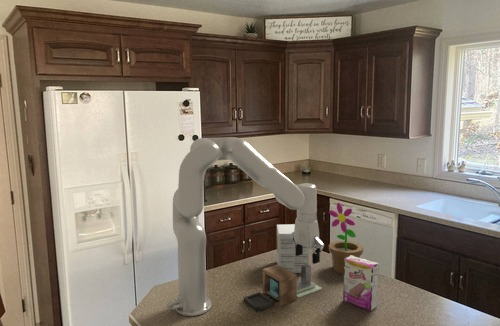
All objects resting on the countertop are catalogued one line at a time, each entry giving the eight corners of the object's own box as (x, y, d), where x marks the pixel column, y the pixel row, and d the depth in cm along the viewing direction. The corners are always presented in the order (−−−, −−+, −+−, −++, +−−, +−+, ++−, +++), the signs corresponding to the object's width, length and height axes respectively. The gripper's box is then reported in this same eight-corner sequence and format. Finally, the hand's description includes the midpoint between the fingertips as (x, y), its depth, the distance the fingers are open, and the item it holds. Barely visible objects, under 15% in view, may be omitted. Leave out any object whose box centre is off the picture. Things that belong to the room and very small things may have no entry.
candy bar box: (342, 301, 145) (343, 258, 142) (349, 296, 148) (350, 254, 146) (371, 312, 137) (372, 266, 135) (377, 306, 141) (379, 262, 138)
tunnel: (281, 305, 143) (281, 279, 141) (263, 292, 152) (262, 268, 151) (296, 299, 147) (296, 274, 145) (277, 287, 156) (277, 264, 154)
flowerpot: (321, 269, 172) (322, 202, 168) (339, 260, 182) (340, 195, 178) (351, 279, 162) (353, 207, 158) (368, 268, 173) (370, 201, 168)
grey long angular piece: (276, 300, 145) (276, 279, 144) (267, 293, 150) (266, 273, 149) (315, 286, 155) (316, 266, 154) (305, 280, 160) (305, 261, 159)
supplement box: (276, 261, 182) (276, 224, 180) (305, 260, 182) (305, 223, 179) (278, 273, 169) (278, 233, 166) (309, 273, 169) (309, 233, 166)
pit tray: (257, 311, 139) (257, 307, 138) (243, 301, 146) (243, 297, 146) (273, 305, 142) (273, 301, 142) (259, 295, 150) (259, 292, 150)
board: (298, 297, 148) (298, 296, 148) (281, 287, 156) (281, 286, 156) (322, 289, 154) (322, 288, 154) (305, 279, 163) (305, 278, 163)
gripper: (284, 213, 157) (285, 254, 160) (315, 223, 143) (315, 268, 146) (299, 209, 161) (300, 249, 164) (330, 219, 147) (330, 263, 150)
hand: (307, 258), depth 155 cm, fingers open, 9 cm apart
